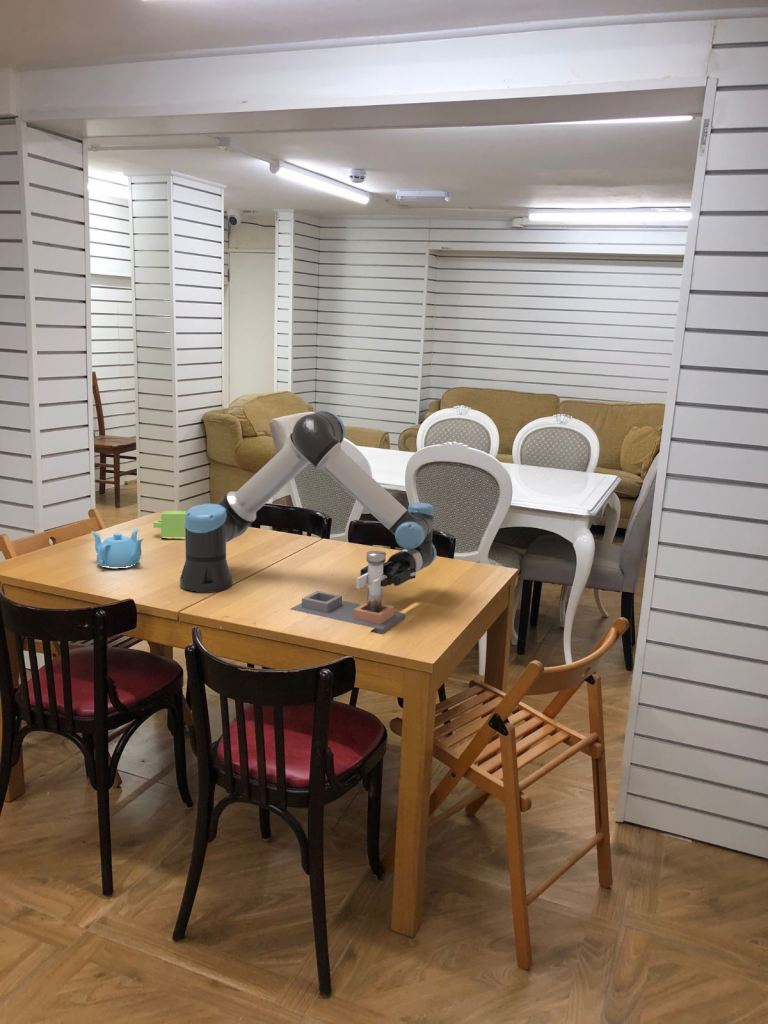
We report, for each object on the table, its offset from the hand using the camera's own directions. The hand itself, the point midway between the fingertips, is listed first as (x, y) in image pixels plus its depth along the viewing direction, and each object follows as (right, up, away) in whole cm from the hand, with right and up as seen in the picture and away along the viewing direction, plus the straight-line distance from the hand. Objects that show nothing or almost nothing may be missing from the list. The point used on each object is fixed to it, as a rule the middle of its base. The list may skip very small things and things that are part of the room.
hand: (365, 584), depth 200 cm
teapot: (-79, +2, +49) cm, 93 cm away
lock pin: (+2, -8, +7) cm, 10 cm away
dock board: (-5, -9, +11) cm, 15 cm away
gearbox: (-70, +9, +86) cm, 111 cm away
